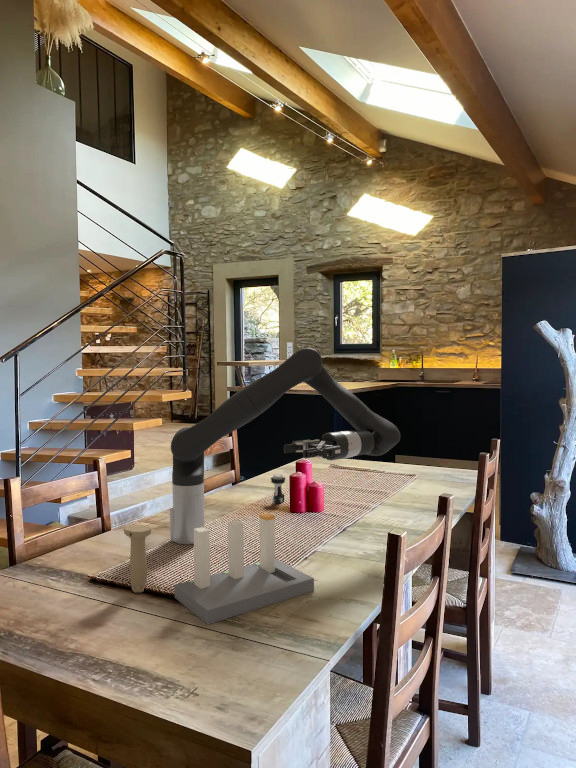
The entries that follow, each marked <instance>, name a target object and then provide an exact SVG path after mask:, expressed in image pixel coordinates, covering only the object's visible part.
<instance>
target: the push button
mask: <svg viewBox="0 0 576 768" xmlns="http://www.w3.org/2000/svg"><path fill="white" fill-rule="evenodd" d="M270 481H271V483H272V484H273V485H274V491H273V496H272V500H271V502H272V503H271V504H272V505H273V504H274V505H275V504H276V505H278V504H281V503H284V502H285V494H284V493H283V492H282V491H283V489H282V487H283V486H282V485H283V484H285V482H286V477H285V476H283V474H281V473H280V474H279V473H277V474H273V475H272V477H270Z"/></svg>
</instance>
